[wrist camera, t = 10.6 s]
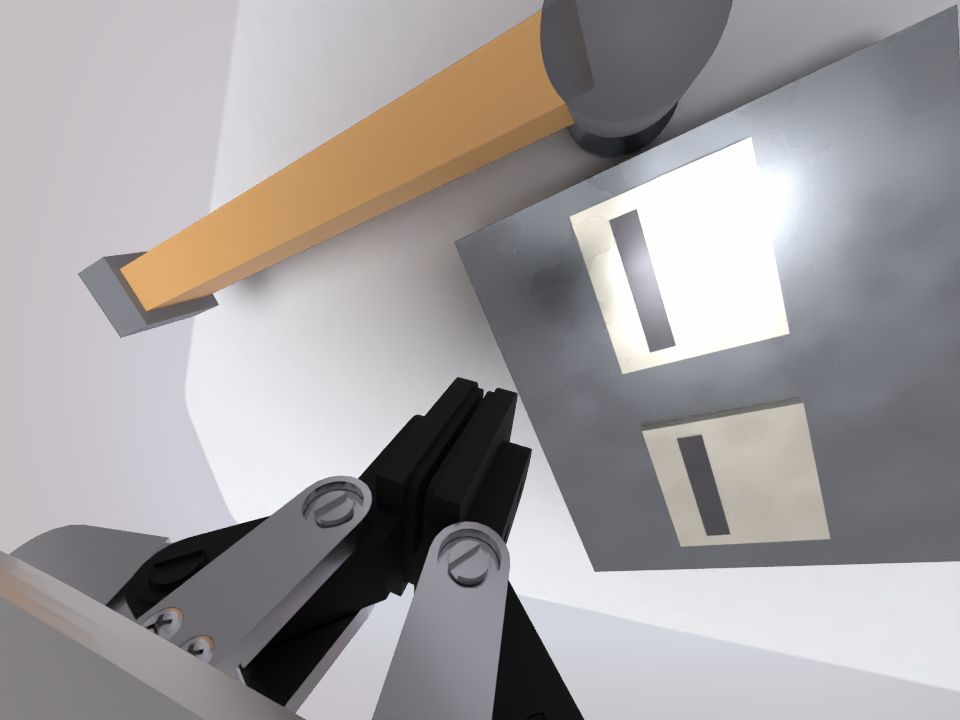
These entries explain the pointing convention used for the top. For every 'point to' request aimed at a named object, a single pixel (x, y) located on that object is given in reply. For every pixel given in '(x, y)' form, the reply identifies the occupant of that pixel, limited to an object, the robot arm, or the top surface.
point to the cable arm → (429, 144)
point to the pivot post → (618, 139)
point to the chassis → (754, 326)
